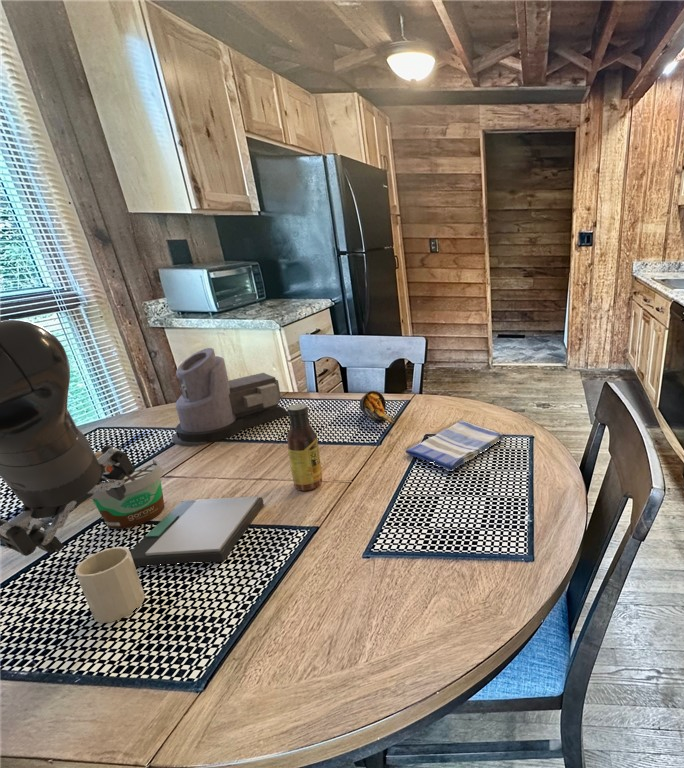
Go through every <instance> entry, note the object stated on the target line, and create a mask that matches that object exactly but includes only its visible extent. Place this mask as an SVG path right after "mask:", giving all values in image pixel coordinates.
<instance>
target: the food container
mask: <svg viewBox="0 0 684 768" xmlns="http://www.w3.org/2000/svg"><path fill="white" fill-rule="evenodd" d="M163 475H164V469H163V468H162V466H161V464H160V463H159V462H158V461H157V460H155V459H152V463H151V464H148V465H147V466H144V467H142V468H140V469H137V470H136V469H135V471H134V473H133V474H132V475H130V476H127V475H126V476H125V478H124V479H123V480H124V483H123V484H124V486H125V488H126V493H124V495H125V498H123V499H122V500H121V501H119V500H117V499H115V498H113V497H111V496H109V495H108V494H107V492H106V491H99V492H95V493H93V496H91V497H90V498H89V499H90V500H92V501H93V503H94V505H95V506H96V508H97V510H98V512H99V514H100V515H101V517H102V519H103V521H104V524H105V525H106V527H107V528H108V529H111V530H122V529H124V530H125V529H130V528H134V527H136V526H137V527H138V526H140V525H143V524H145V523H147V522H150V521H151V520H154V519H155V518H156V517H158V516H160V514H161V513H162V512H163V511H164V510H165V500H164V495H163V493H164V492H163V486H162V480H161V479H162V478H161V477H162V476H163ZM89 499H88V500H89Z"/></svg>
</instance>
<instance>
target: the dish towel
mask: <svg viewBox="0 0 684 768" xmlns="http://www.w3.org/2000/svg"><path fill="white" fill-rule="evenodd" d="M504 439H505V438H504V437H503V433H501V432H497V431H495V430H491V429H488V428H486V427H484V426H479V425H476V424H473V423H472V422H468V421H465V420H460V421H457V422H455V423H454V424H453V425H451V426H450V427H447V428H446V429H443V430H442V431H440V432H438V433H436V434H435V435H433V436H431V437H429V438H427V439H424V440H423V441H422V442H420V443H418V444H415V445H414V446H412V447H409V448H407V449H406V450H405V453H406V454H407V455H409V456H412V457H413V456H414V457H413V458H416V457H417V459H418V458H420V459H422V460H426V461H428V462H433V461H435V462H434V464H436V465H438V466H440V467H443V468H445V469H448V470H452V469H455V468H456V467H458V468H459V467H461V466H462V465H464V464H466V463H468V462H470V461H472V460H473V459H475V458H476V457H478V456H479V455H478V454H480V452H482V451H483V450H485V449H486V448H488V447H490V446H491V445H493V444H495V443H496V442H498V441H500V442H502V441H503V440H504ZM477 455H478V456H477ZM475 456H476V457H475ZM474 457H475V458H474ZM420 459H419V460H420ZM422 460H421V461H422ZM469 460H470V461H469ZM467 461H468V462H467ZM465 462H466V463H465ZM460 465H461V466H460ZM455 470H456V469H455Z"/></svg>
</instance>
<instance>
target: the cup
mask: <svg viewBox="0 0 684 768" xmlns="http://www.w3.org/2000/svg"><path fill="white" fill-rule="evenodd" d="M130 551H131V550H130V548H127V547H125V546H115V547H110V548H106V549H103V550H100V551H98V552H95V553H93V554H91V555H90V556H88V557H86V558H84V559H83V560H82V561H81V562H80V563H79V564H78V565H77V566H76V567H75V569H74V573H75V575H76V578H77V581H78V583H79V586H80V588H81V591H82V592H83V596H84V598H85V600H86V603H87V606H88V608H89V609H90V613H91V615H92V617H93V619H94V621H95V622H97V623H100V624H106V623H112V622H117V621H119V620H121V619H123V618H125V617H128V616H129V615H131V614H132V613H134V612H135V611H136V610H137V609H138V608H140V607H141V605H142V604H143V603H144V601H145V598H146V595H145V591H144V588H143V585H142V582H141V579H140V576H139V573H138V570H137V567H135V564H134V562H133V559H132V556H131V553H130ZM136 608H137V609H136ZM135 609H136V610H135ZM134 610H135V611H134ZM133 611H134V612H133Z"/></svg>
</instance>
